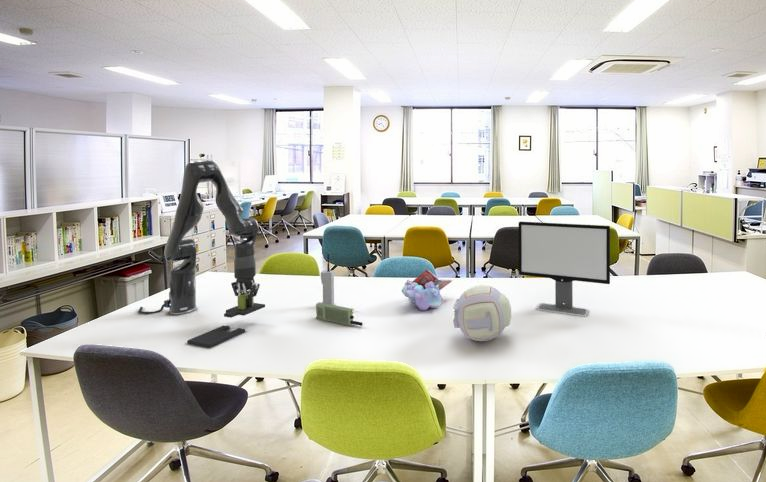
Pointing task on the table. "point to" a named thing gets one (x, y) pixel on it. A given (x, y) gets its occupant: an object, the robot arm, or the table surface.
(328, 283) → the vintage mobile phone
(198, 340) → the charcoal pad
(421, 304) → the lavender knobbly lump
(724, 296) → the table surface
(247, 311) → the black pad
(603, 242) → the computer monitor
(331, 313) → the handheld radio
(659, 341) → the table surface
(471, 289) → the paneled ball
